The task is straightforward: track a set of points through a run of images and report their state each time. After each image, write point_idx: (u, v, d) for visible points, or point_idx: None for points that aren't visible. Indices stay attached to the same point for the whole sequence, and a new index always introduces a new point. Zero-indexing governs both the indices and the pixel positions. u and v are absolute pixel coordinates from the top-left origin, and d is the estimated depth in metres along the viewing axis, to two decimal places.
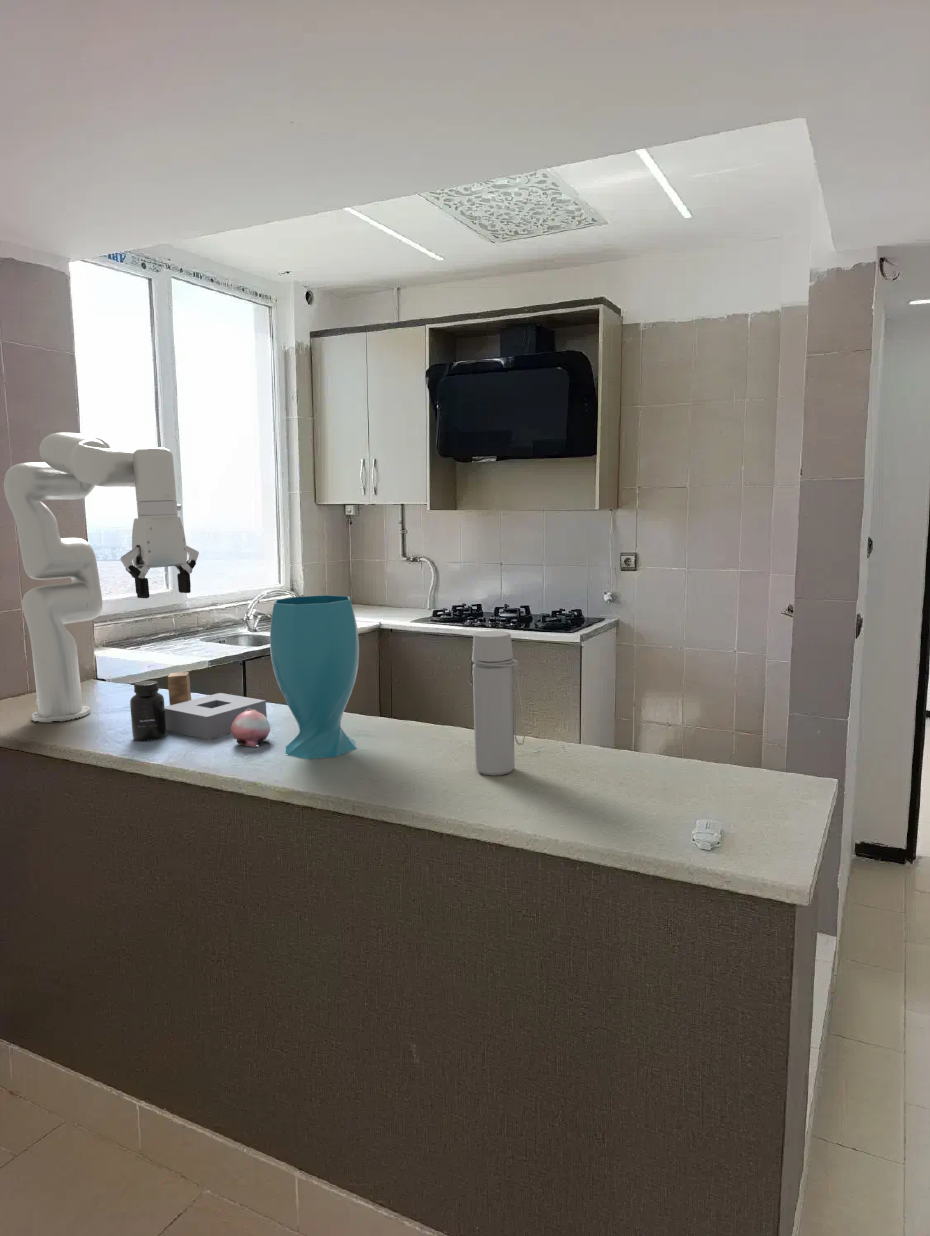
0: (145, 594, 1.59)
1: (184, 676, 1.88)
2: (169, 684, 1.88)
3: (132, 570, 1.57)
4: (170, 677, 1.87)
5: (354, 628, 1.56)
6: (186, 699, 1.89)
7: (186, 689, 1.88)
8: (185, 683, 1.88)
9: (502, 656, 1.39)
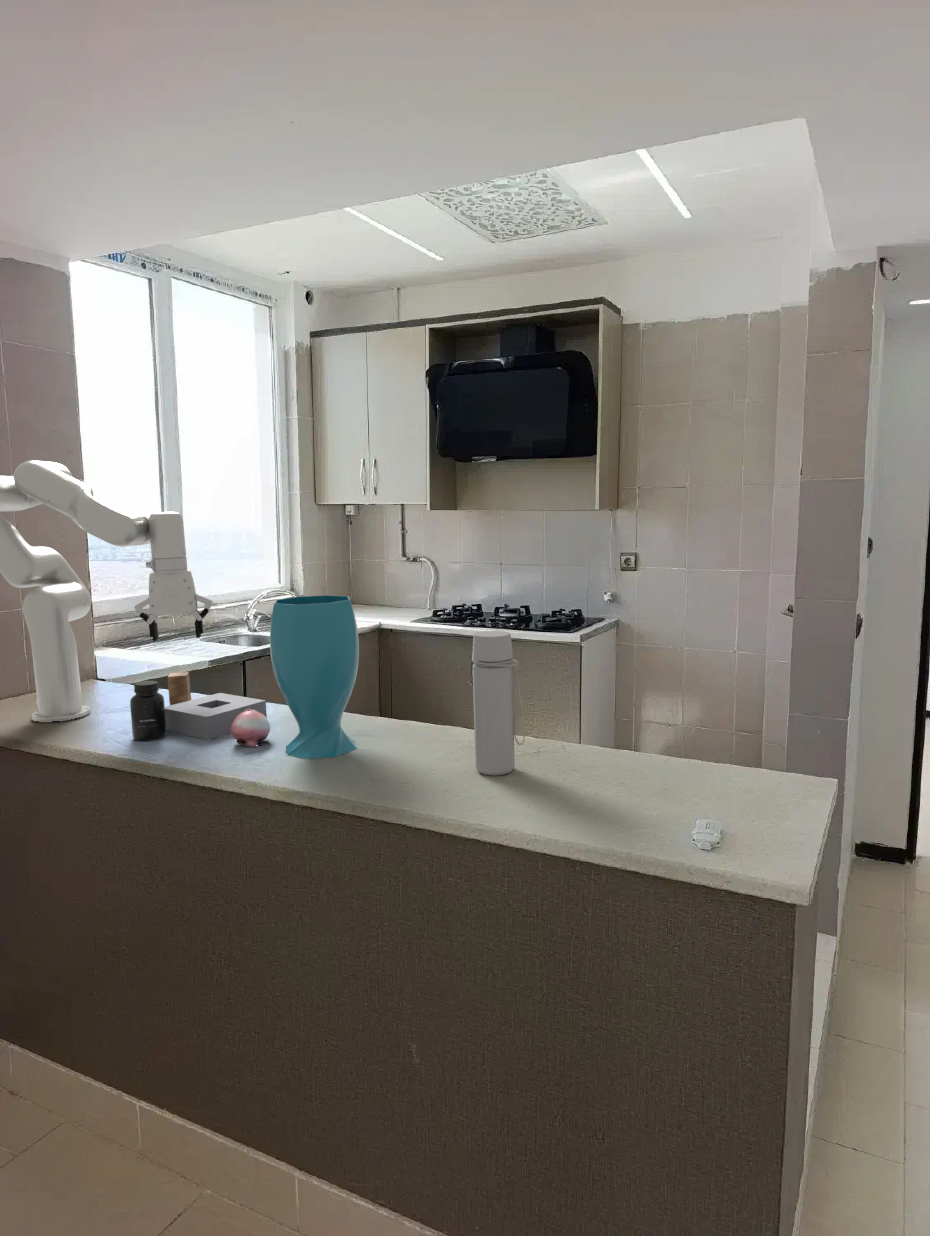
0: None
1: (184, 676, 1.88)
2: (169, 684, 1.88)
3: None
4: (170, 677, 1.87)
5: (354, 628, 1.56)
6: (186, 699, 1.89)
7: (186, 689, 1.88)
8: (185, 683, 1.88)
9: (502, 656, 1.39)
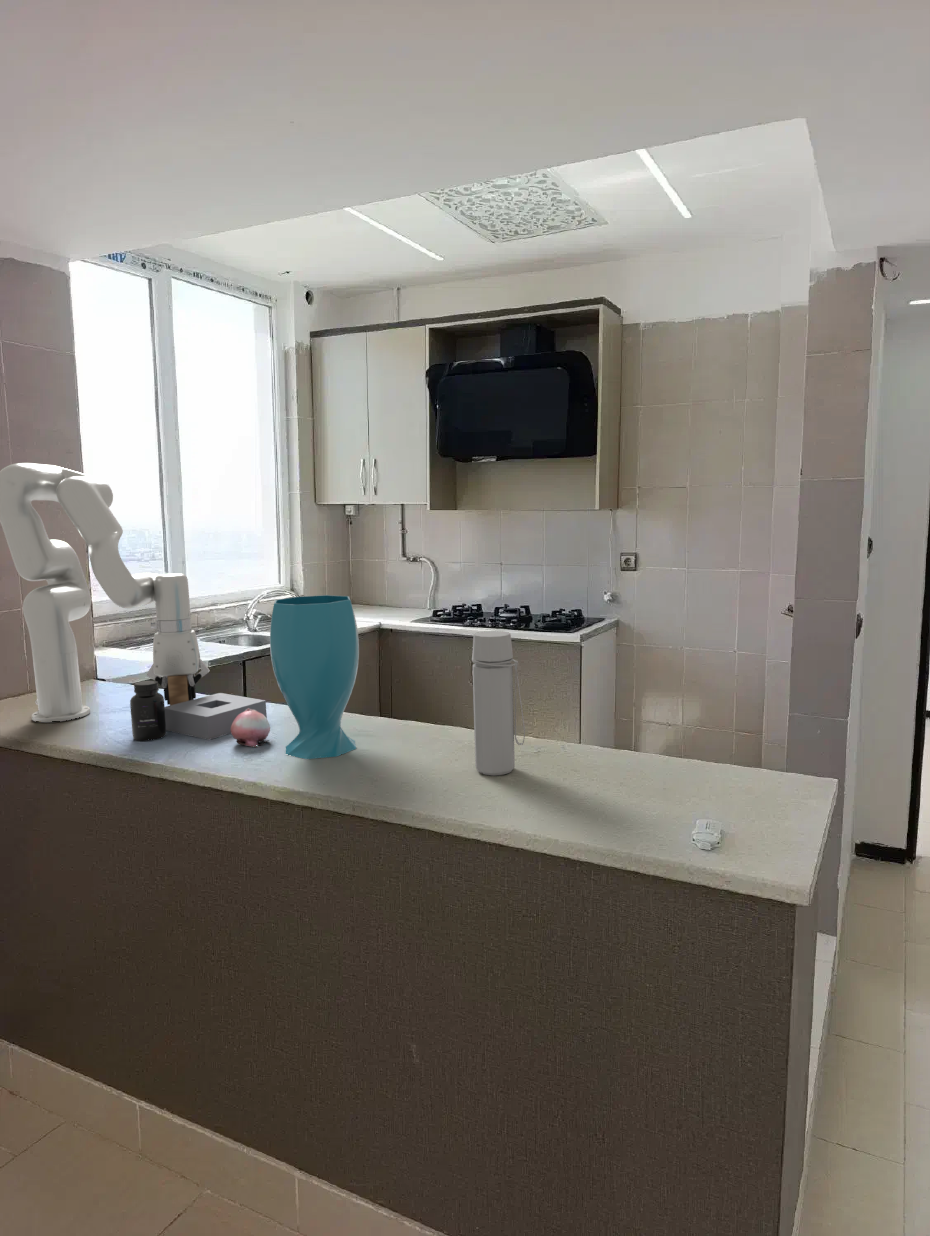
0: None
1: (184, 676, 1.88)
2: (169, 684, 1.88)
3: None
4: (170, 677, 1.87)
5: (354, 628, 1.56)
6: (186, 699, 1.89)
7: (186, 689, 1.88)
8: (185, 683, 1.88)
9: (502, 656, 1.39)
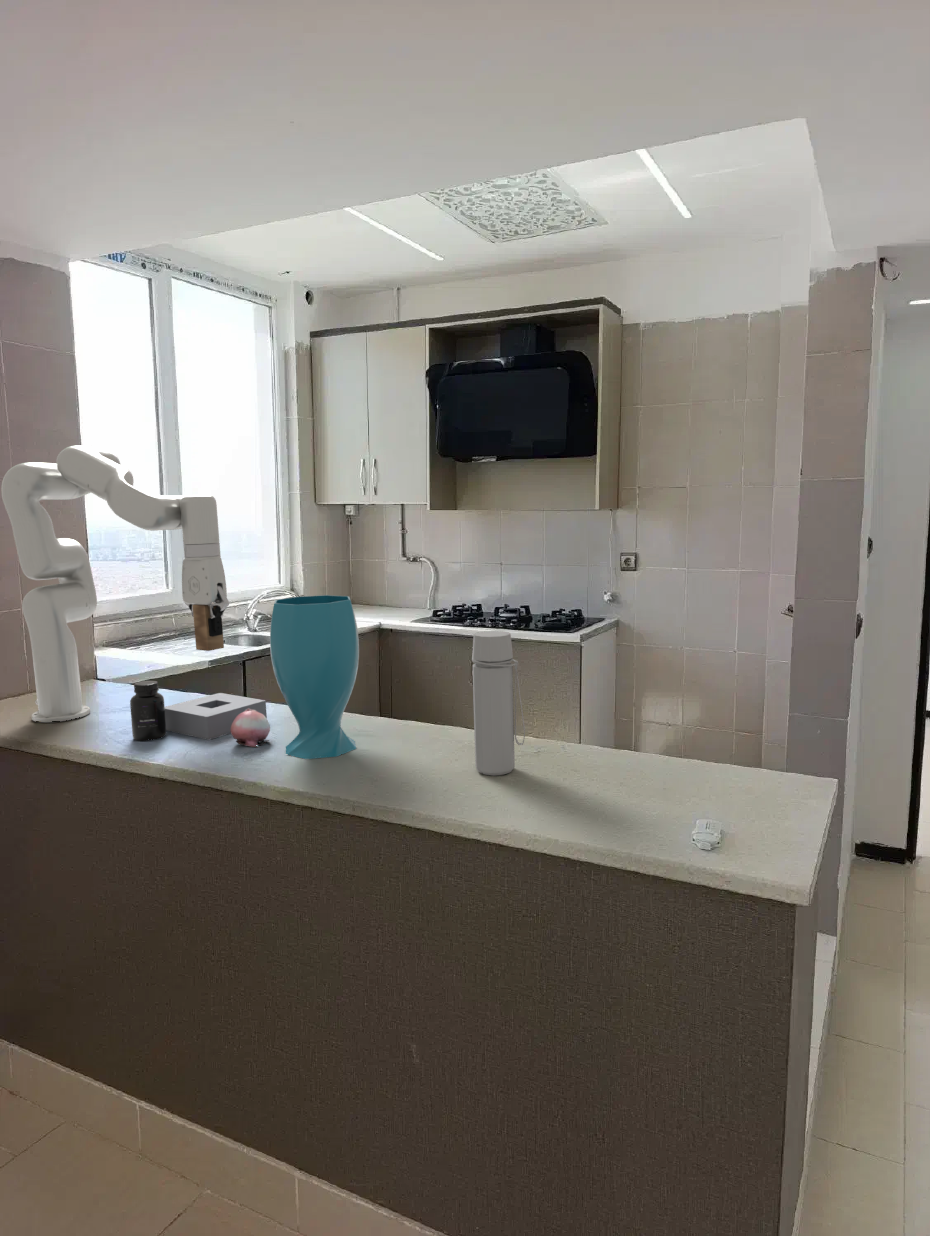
0: (221, 631, 1.77)
1: (203, 606, 1.74)
2: (194, 613, 1.77)
3: None
4: (194, 605, 1.76)
5: (354, 628, 1.56)
6: (205, 631, 1.75)
7: (205, 620, 1.75)
8: (204, 614, 1.75)
9: (502, 656, 1.39)
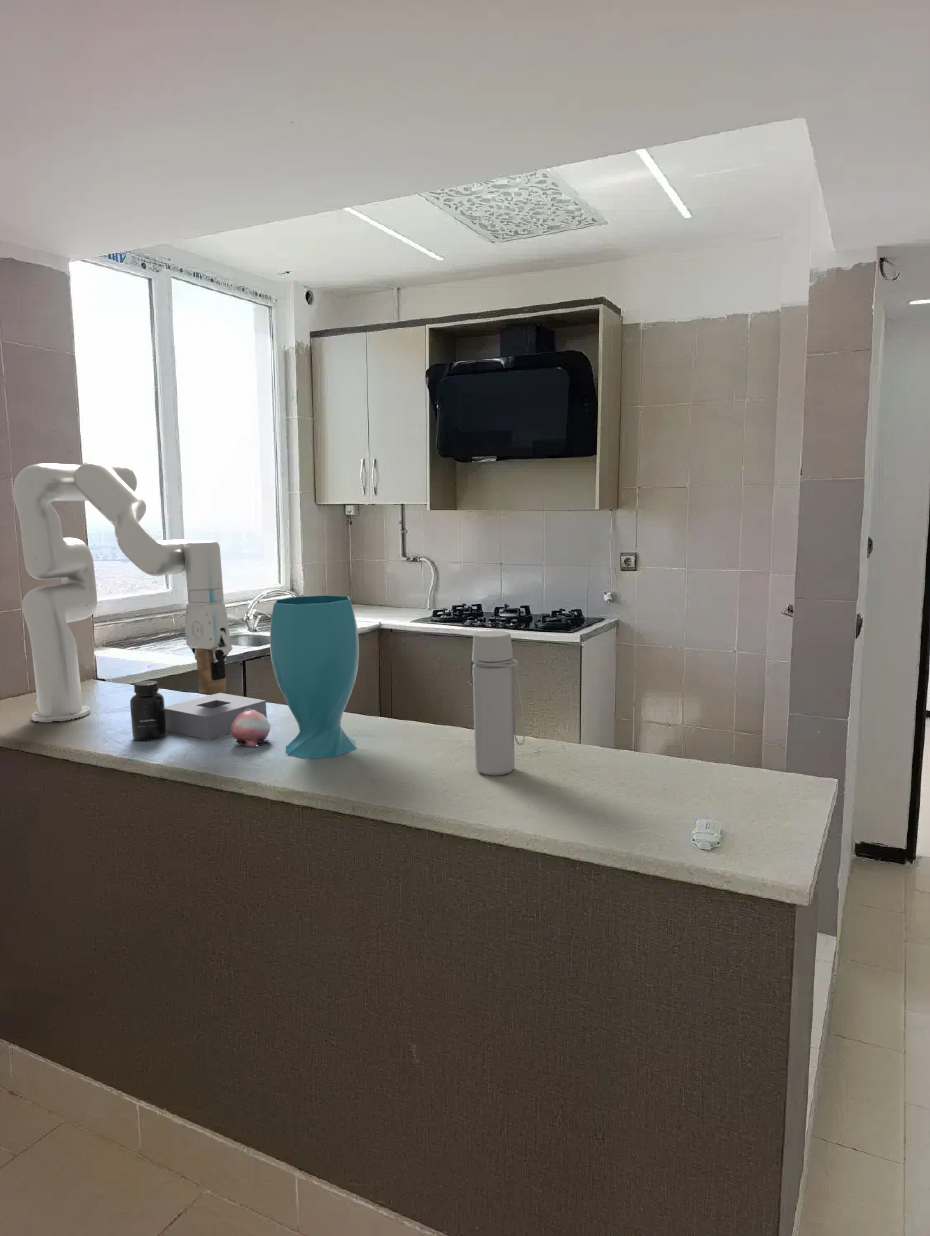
0: (224, 674, 1.79)
1: (207, 650, 1.76)
2: (197, 657, 1.78)
3: None
4: (197, 649, 1.78)
5: (354, 628, 1.56)
6: (208, 675, 1.77)
7: (208, 665, 1.76)
8: (207, 658, 1.76)
9: (502, 656, 1.39)
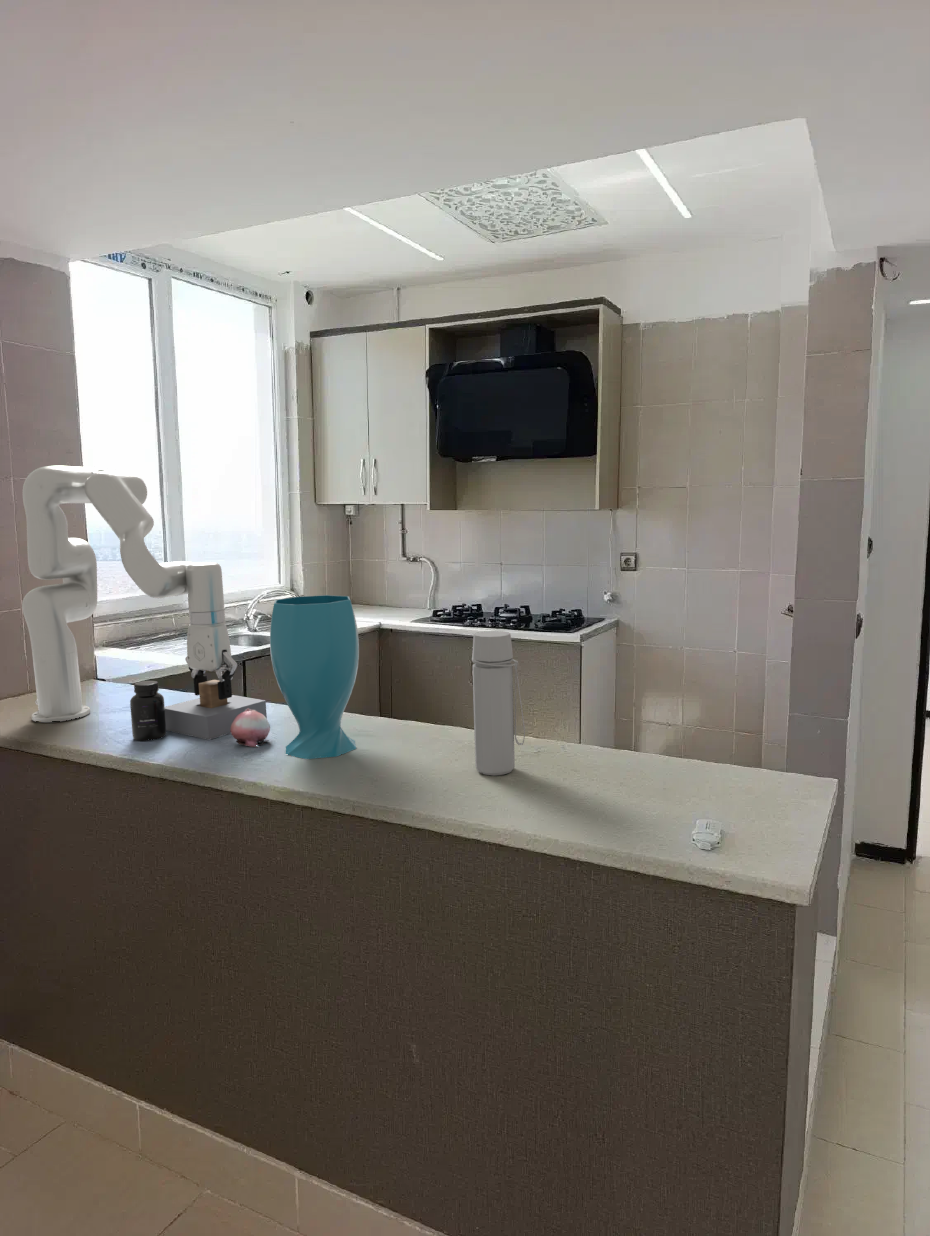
0: (230, 693, 1.78)
1: (209, 686, 1.77)
2: (200, 691, 1.79)
3: None
4: (200, 684, 1.79)
5: (354, 628, 1.56)
6: None
7: (210, 700, 1.77)
8: (209, 693, 1.77)
9: (502, 656, 1.39)
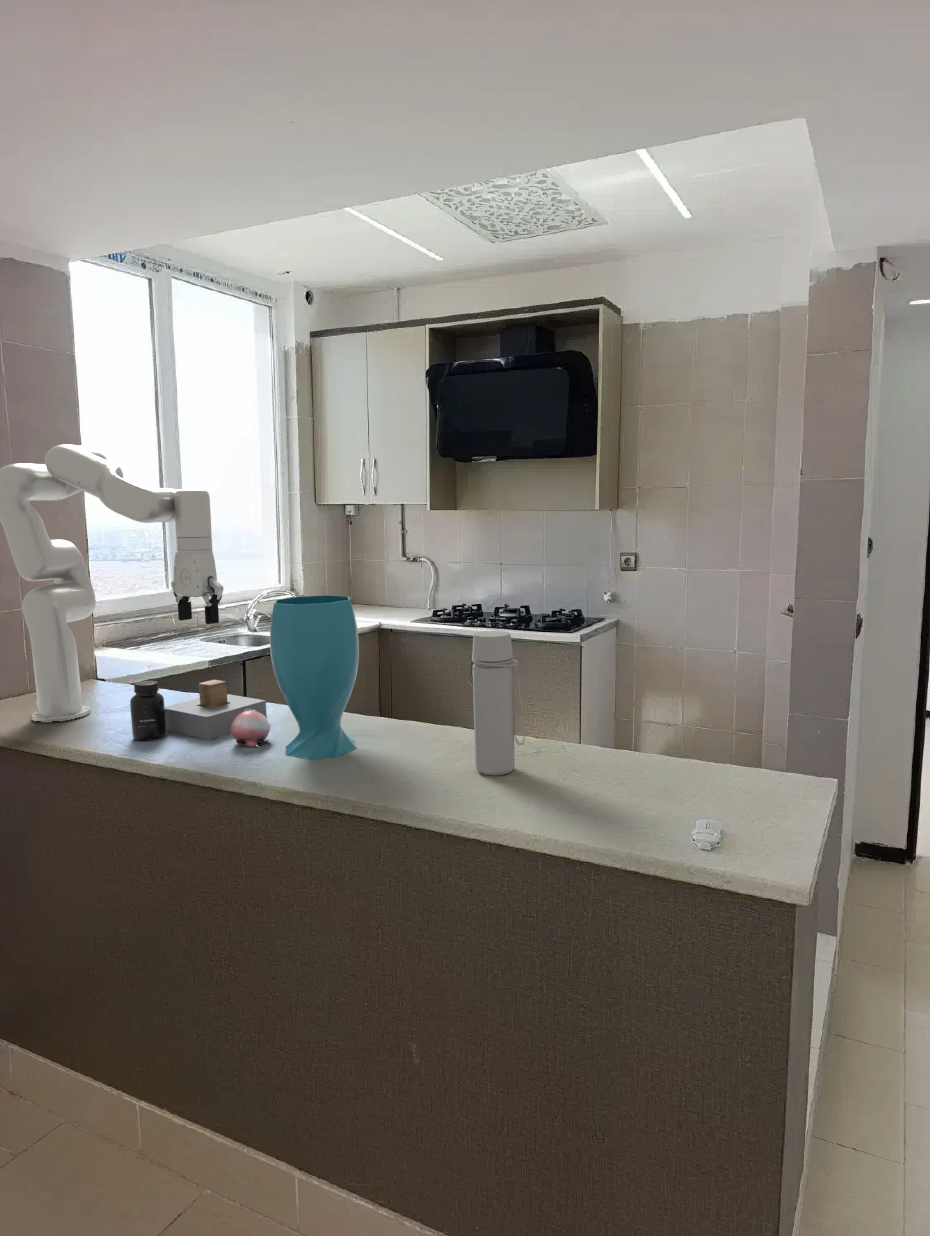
0: (217, 619, 1.79)
1: (209, 686, 1.77)
2: (200, 691, 1.79)
3: None
4: (200, 684, 1.79)
5: (354, 628, 1.56)
6: None
7: (210, 699, 1.77)
8: (209, 693, 1.77)
9: (502, 656, 1.39)
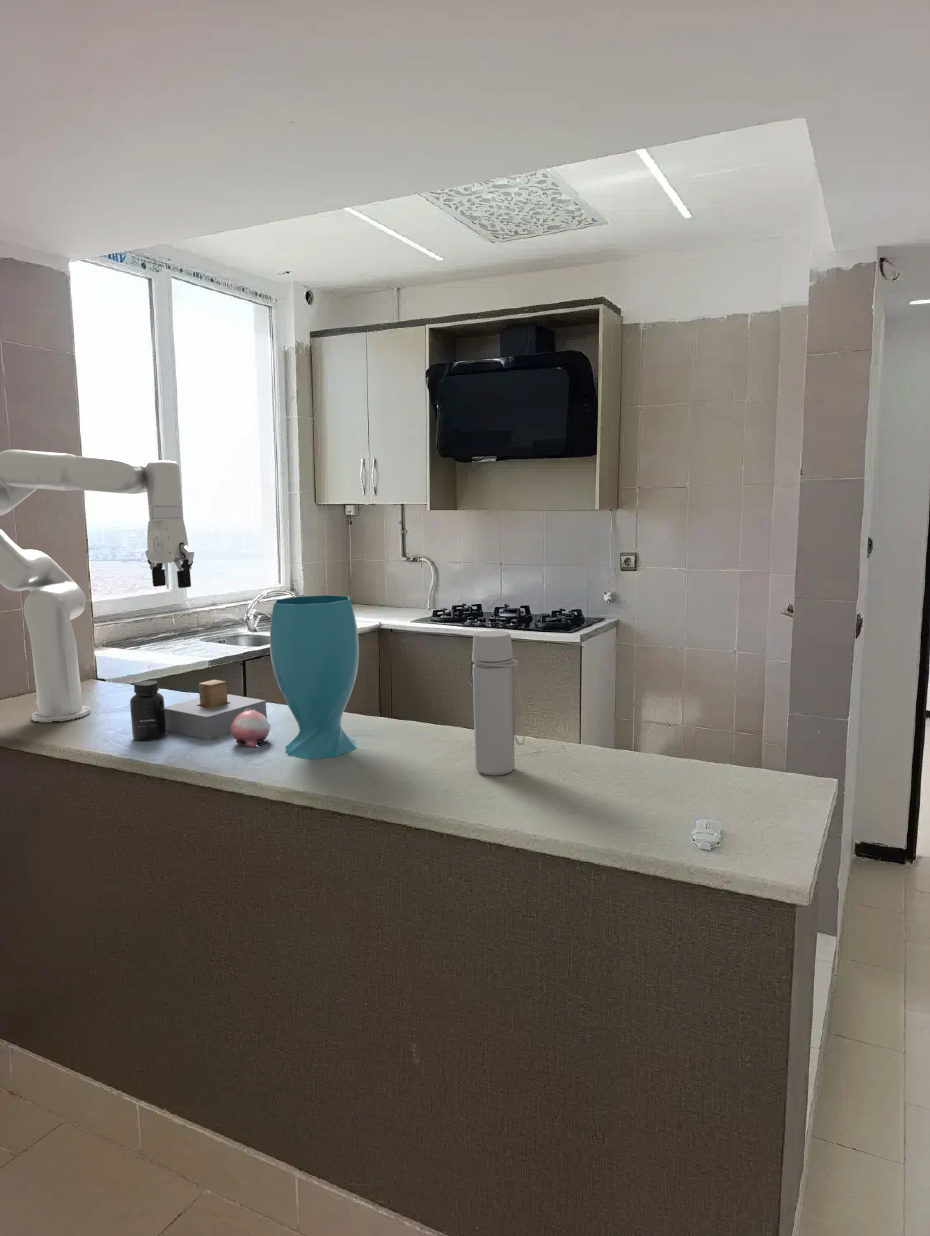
0: (189, 583, 1.89)
1: (209, 686, 1.77)
2: (200, 691, 1.79)
3: None
4: (200, 684, 1.79)
5: (354, 628, 1.56)
6: None
7: (210, 699, 1.77)
8: (209, 693, 1.77)
9: (502, 656, 1.39)
